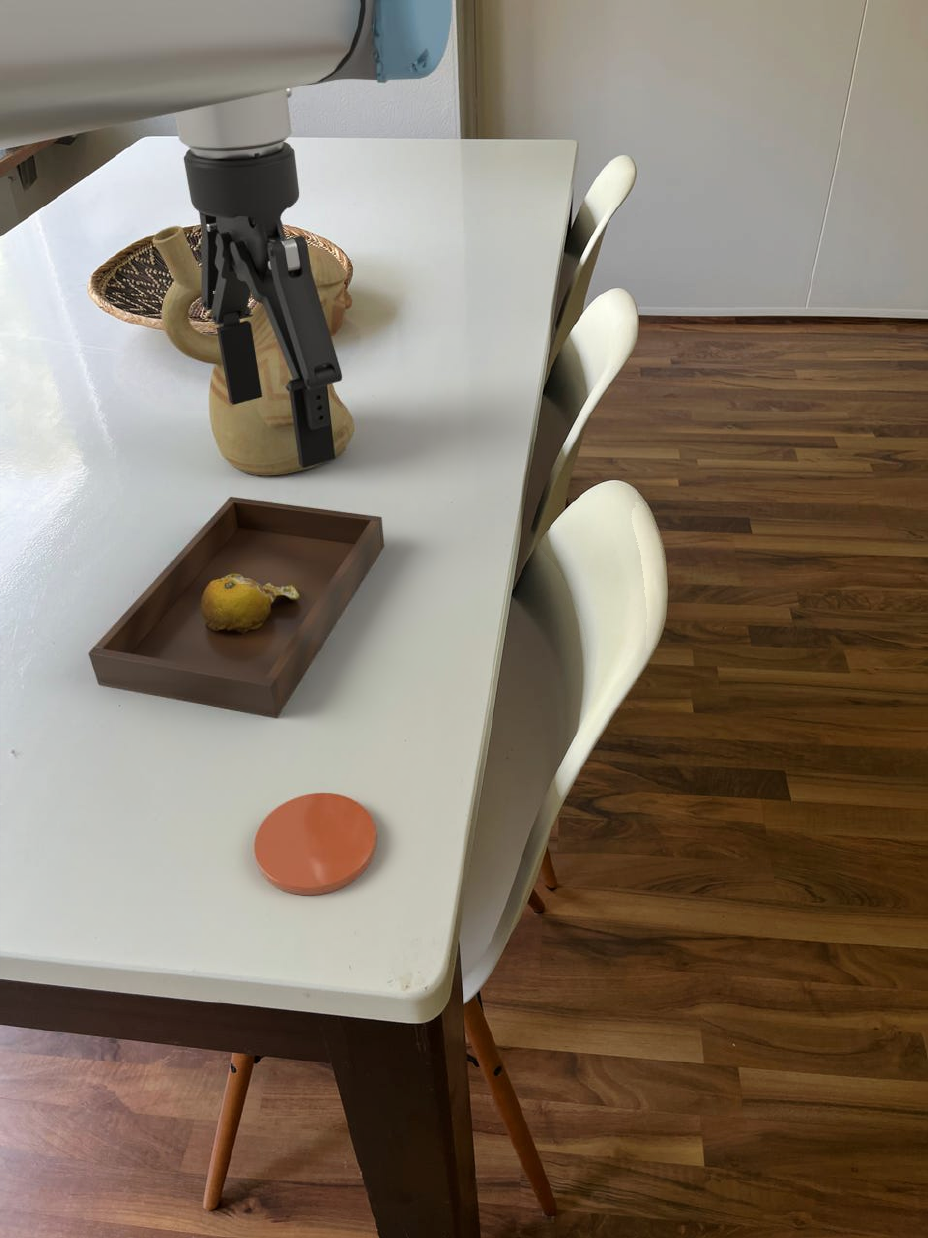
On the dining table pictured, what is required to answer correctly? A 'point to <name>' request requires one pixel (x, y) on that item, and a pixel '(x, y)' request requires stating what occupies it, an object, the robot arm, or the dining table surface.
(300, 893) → the plate
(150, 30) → the robot arm
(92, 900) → the dining table surface
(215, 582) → the fruit
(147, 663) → the bin
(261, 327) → the ceramic vessel
